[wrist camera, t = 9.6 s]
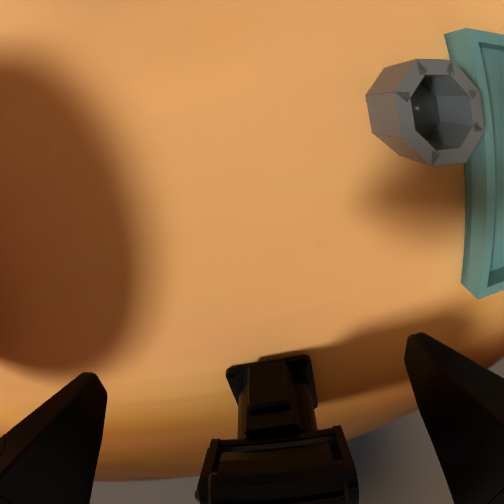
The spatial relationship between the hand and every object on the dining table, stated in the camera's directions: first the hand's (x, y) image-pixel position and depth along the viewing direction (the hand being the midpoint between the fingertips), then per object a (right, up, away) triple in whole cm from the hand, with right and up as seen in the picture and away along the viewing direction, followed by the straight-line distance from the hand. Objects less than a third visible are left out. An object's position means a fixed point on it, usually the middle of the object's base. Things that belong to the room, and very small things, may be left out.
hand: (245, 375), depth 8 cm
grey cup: (+9, +12, +8) cm, 17 cm away
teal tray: (+20, +10, +9) cm, 24 cm away
